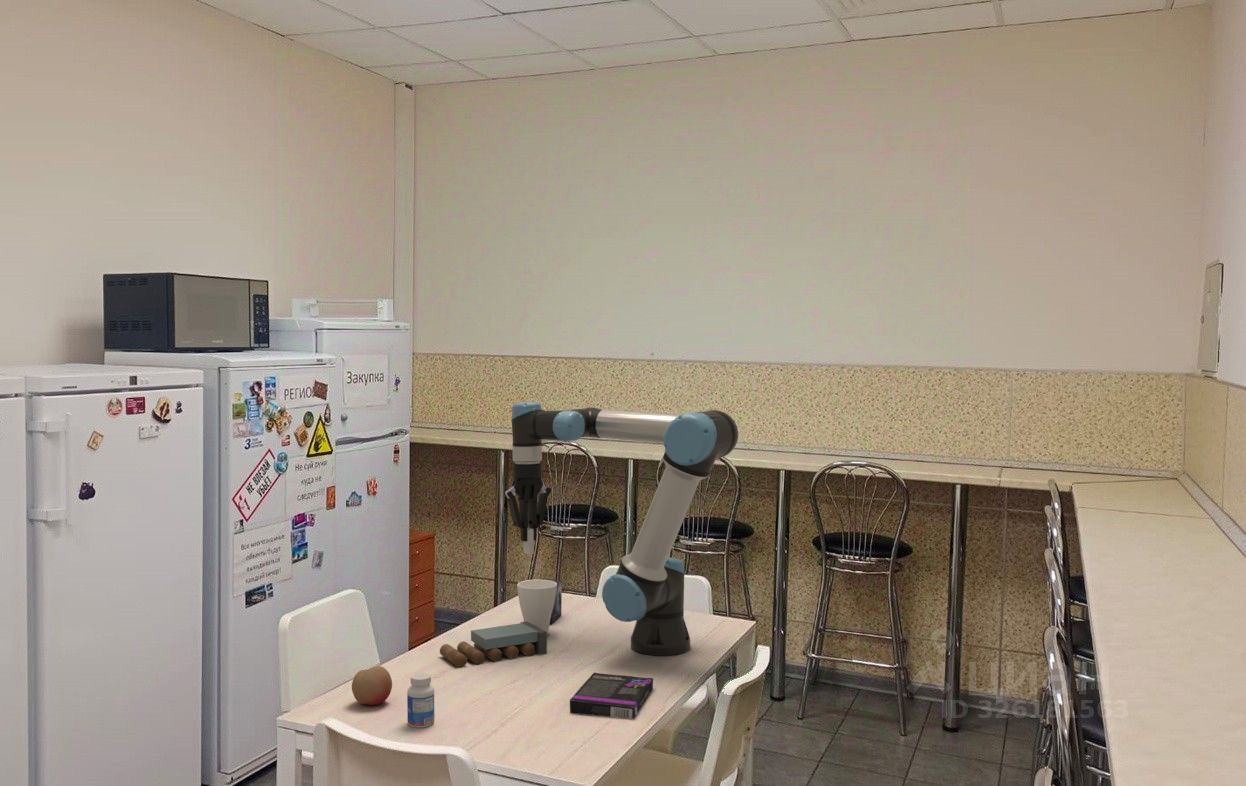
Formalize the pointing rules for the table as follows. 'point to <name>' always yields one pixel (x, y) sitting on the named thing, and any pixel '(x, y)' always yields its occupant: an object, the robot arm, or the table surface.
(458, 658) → the roller bed
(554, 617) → the small box
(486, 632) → the slab
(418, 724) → the pill bottle
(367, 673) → the fruit
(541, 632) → the bar
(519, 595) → the cup
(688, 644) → the robot arm
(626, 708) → the box
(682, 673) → the table surface
